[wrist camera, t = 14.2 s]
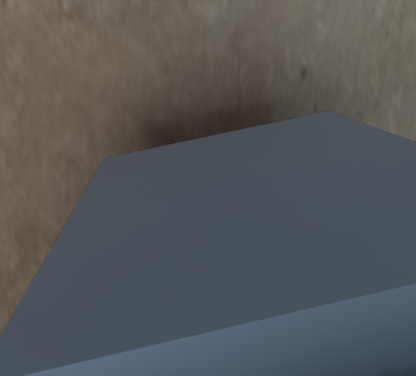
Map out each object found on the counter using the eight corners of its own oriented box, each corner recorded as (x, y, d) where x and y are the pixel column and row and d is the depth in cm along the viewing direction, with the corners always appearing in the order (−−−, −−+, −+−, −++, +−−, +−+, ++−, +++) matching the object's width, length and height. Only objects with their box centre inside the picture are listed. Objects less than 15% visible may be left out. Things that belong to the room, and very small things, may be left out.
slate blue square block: (339, 293, 15) (550, 583, 7) (158, 336, 15) (149, 692, 6) (327, 111, 12) (659, 226, 4) (103, 158, 12) (-31, 388, 4)
